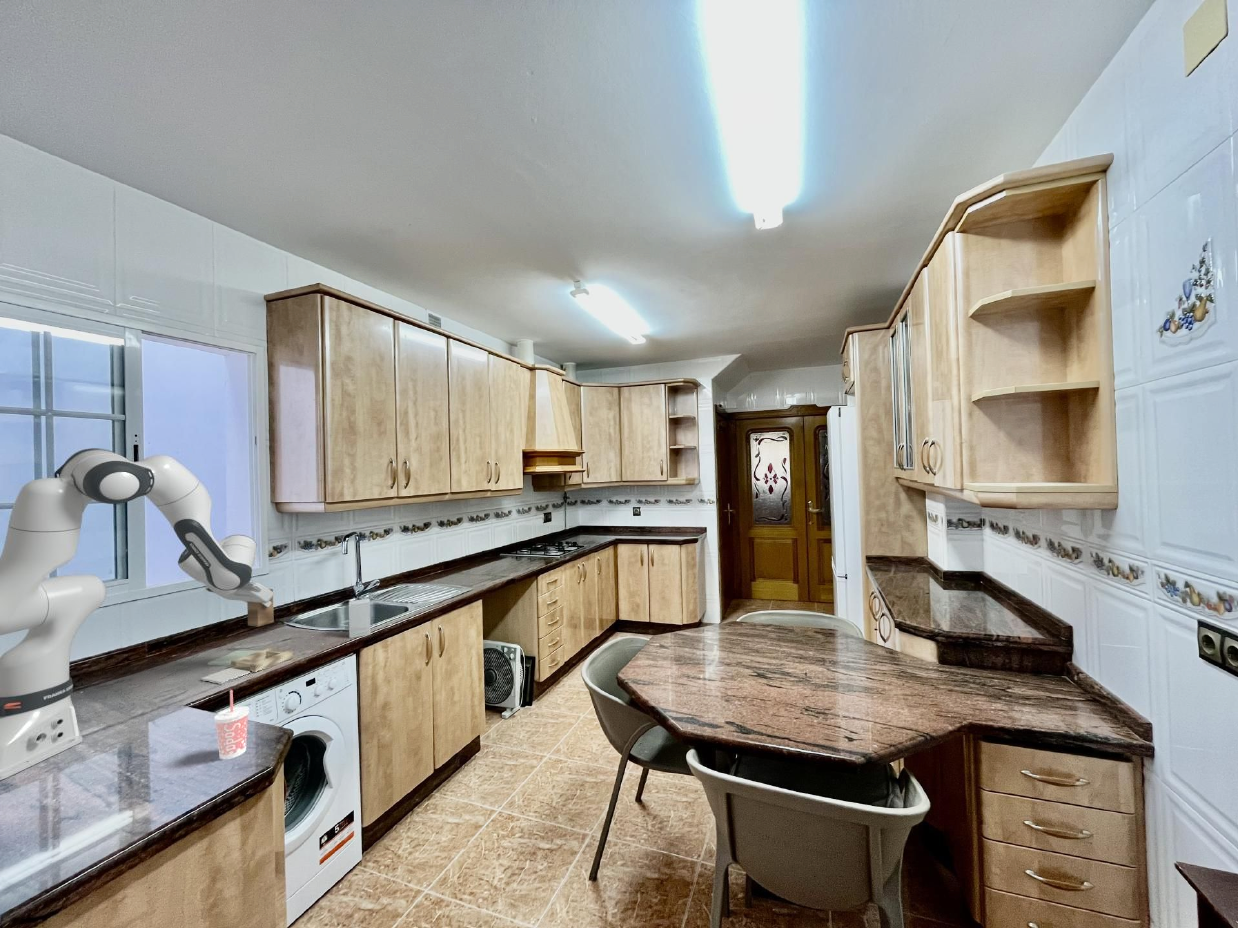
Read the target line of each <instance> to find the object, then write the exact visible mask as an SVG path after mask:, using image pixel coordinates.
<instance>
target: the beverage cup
mask: <svg viewBox="0 0 1238 928" xmlns="http://www.w3.org/2000/svg"><path fill="white" fill-rule="evenodd" d="M233 693H234V691H233V689H230V690H229V707H230V708H227V709H225V710H223V711H220V712H218V713H217V714H215V716H214V717H213V720H214V723H215V728H216V736H217V745H218V752H219V753H218V756H219V759H220V760H231V759H234V758H236V757H239V756H241V755H242V754H244V753H245V752H246V751H247V735H248V717H249V716H248V715H249V712H250V708H249V706H246V705H241V706H235V707H234V697H233V696H234V695H233Z"/></svg>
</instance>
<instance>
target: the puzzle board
mask: <svg viewBox="0 0 1238 928" xmlns="http://www.w3.org/2000/svg"><path fill="white" fill-rule="evenodd" d="M258 651H259V652H256V653H253V654H250V655H248V656H245V657H242V658H239V659H236V660H233V661H231V665H230V667H228V668H225V669H223V670H221V671H218V672H217V671H216V672H214V673H211V674H209V675H206V676H203V677H201V678H200V680H201V679H202V680H205V681H214V682H219V683H223V682H225V681H228V680H229V679H233V678H237V677H238V676H243V675H245V674H248V673H250V674H251V673H253V672H257V671H258V670H262V669H265V670H267V669H266V668H267V667H270V668H272V667H271V666H273V665H275V664H276V663H280V662H282V661H284V660H287V659H290V658H293V659H294V651H292V650H286V649H279V648H273V647H272V648H271V647H267V648H266V649H265V648H264V649H262V650H258ZM275 666H276V665H275ZM273 667H274V666H273ZM245 670H246V671H245ZM250 671H252V672H250ZM262 671H263V670H262ZM257 673H258V672H257ZM243 677H244V676H243Z"/></svg>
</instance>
